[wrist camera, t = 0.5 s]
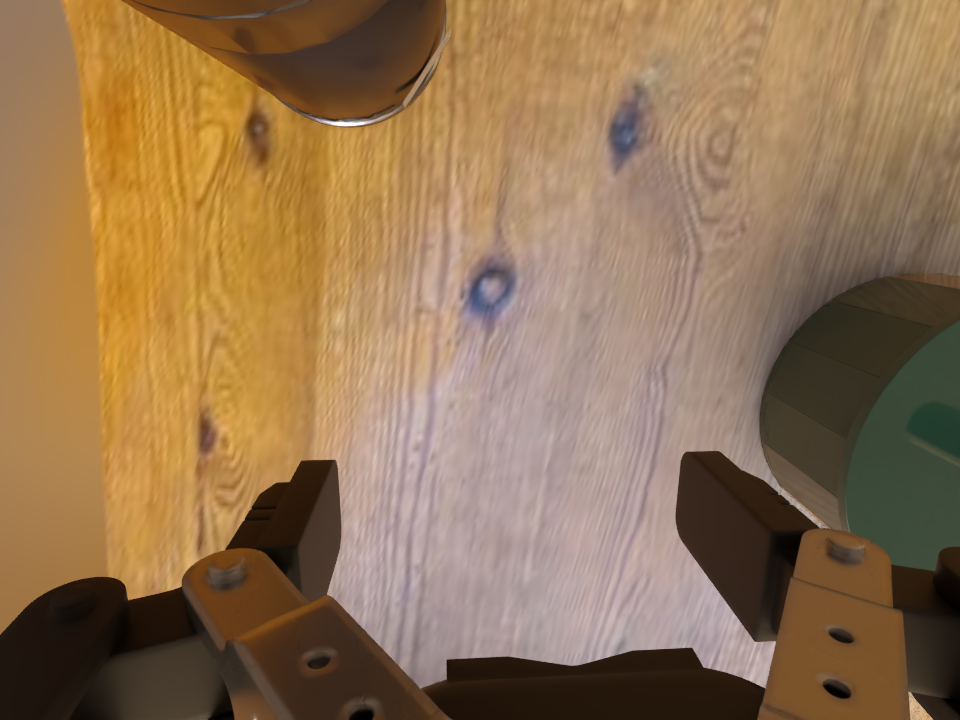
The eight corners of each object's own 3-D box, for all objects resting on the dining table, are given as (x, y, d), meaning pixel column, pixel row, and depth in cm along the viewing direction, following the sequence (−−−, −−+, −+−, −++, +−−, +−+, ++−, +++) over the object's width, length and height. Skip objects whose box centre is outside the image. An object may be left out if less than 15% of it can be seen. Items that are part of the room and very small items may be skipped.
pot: (771, 281, 31) (870, 306, 24) (1037, 265, 32) (1210, 285, 25) (749, 529, 35) (829, 614, 28) (986, 510, 36) (1122, 587, 29)
